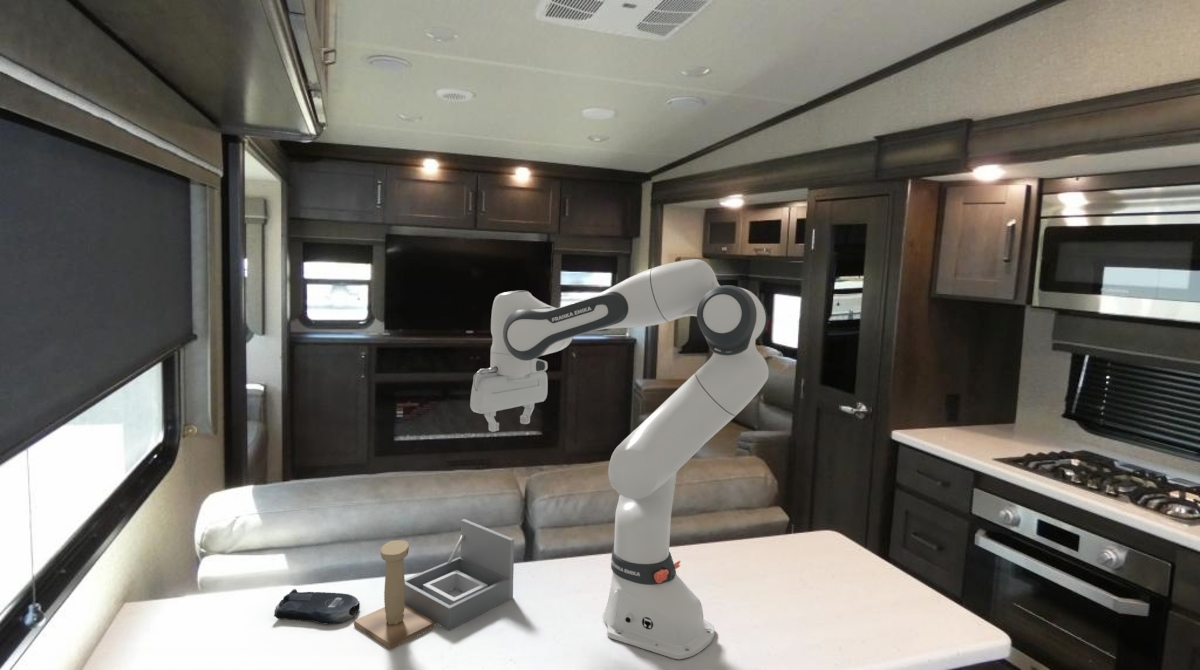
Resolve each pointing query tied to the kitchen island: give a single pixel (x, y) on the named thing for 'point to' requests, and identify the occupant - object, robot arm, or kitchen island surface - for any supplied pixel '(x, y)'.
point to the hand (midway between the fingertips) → (509, 427)
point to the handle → (394, 580)
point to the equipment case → (465, 578)
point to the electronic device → (317, 607)
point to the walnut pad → (394, 626)
